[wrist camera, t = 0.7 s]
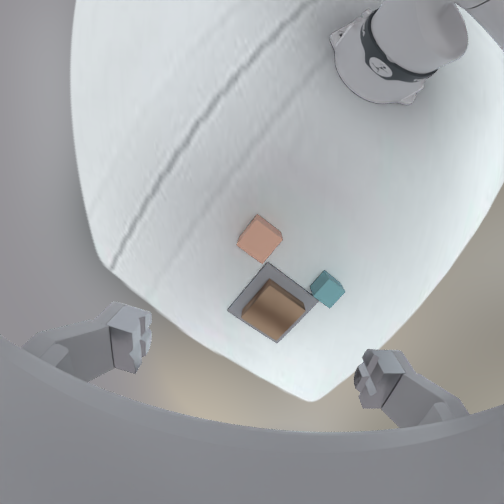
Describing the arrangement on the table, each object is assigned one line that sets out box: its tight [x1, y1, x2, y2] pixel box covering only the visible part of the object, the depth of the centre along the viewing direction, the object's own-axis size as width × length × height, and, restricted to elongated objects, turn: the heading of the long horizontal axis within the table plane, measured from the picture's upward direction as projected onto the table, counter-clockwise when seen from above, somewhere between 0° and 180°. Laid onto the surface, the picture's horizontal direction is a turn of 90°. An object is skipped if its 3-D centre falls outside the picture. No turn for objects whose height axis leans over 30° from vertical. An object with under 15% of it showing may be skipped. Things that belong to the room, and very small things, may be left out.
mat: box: [227, 262, 319, 343], centre depth 50 cm, size 12×12×1 cm
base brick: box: [241, 278, 306, 341], centre depth 48 cm, size 8×8×3 cm
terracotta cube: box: [237, 214, 283, 264], centre depth 44 cm, size 5×5×5 cm
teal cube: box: [310, 270, 345, 308], centre depth 47 cm, size 4×4×4 cm
